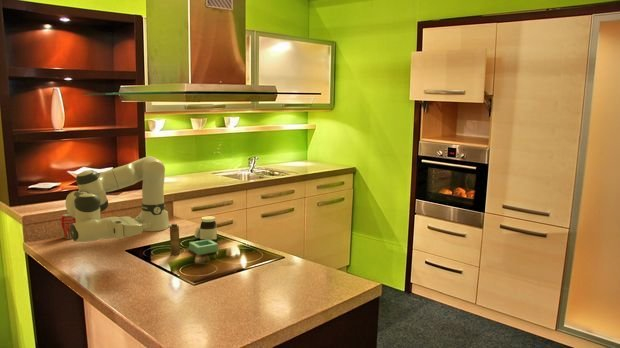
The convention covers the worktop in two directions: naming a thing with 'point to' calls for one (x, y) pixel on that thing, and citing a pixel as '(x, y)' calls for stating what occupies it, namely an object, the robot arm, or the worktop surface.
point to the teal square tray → (203, 246)
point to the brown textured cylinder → (174, 240)
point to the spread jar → (207, 229)
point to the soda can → (67, 225)
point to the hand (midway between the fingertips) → (146, 222)
